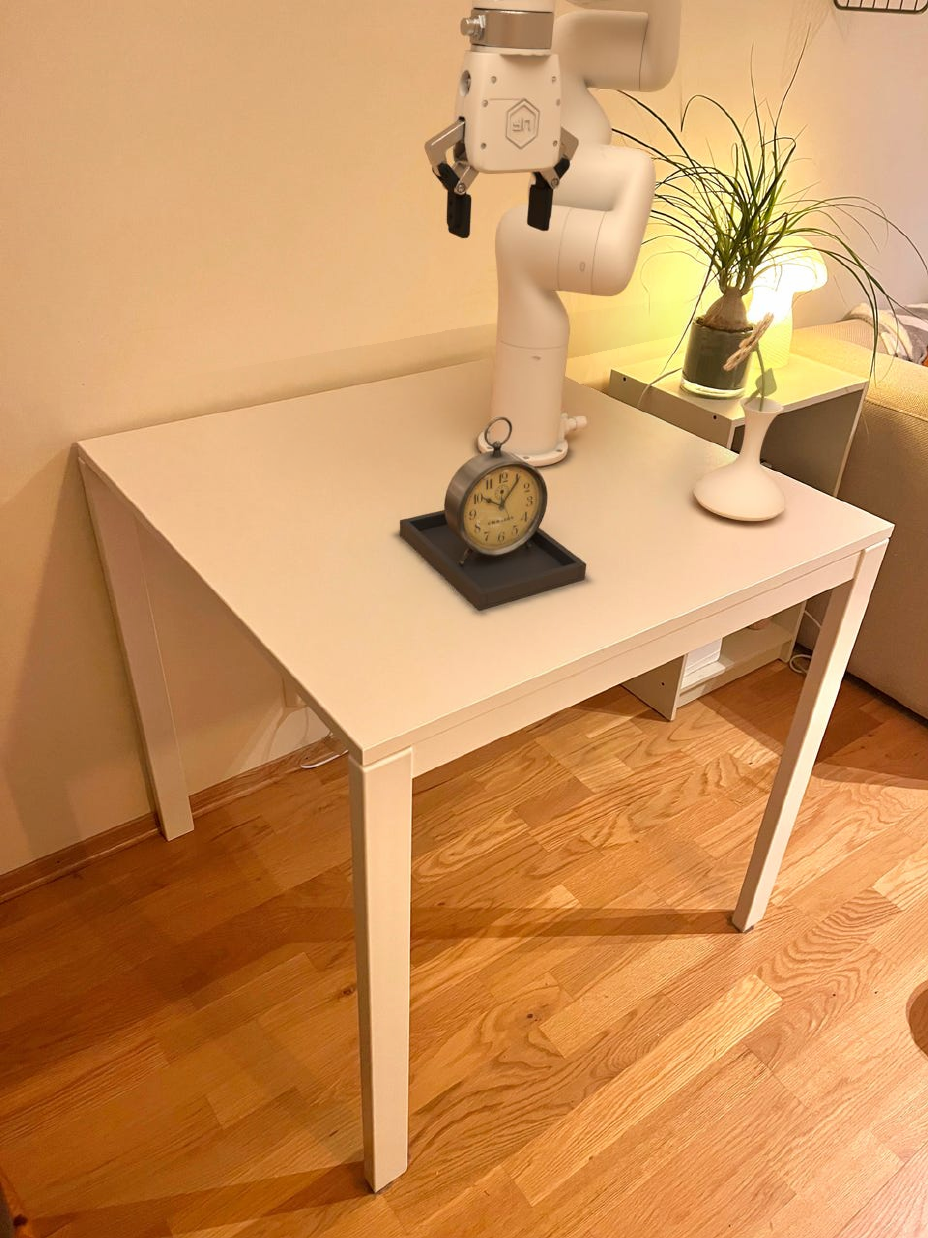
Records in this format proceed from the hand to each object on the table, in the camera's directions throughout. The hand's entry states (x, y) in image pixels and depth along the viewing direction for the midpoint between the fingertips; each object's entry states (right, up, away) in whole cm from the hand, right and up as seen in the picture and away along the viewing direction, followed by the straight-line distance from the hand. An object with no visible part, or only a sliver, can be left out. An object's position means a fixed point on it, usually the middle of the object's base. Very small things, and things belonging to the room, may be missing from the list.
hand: (499, 231), depth 94 cm
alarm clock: (-1, -33, +9) cm, 34 cm away
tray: (-1, -33, +9) cm, 34 cm away
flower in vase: (+30, -26, +22) cm, 46 cm away
